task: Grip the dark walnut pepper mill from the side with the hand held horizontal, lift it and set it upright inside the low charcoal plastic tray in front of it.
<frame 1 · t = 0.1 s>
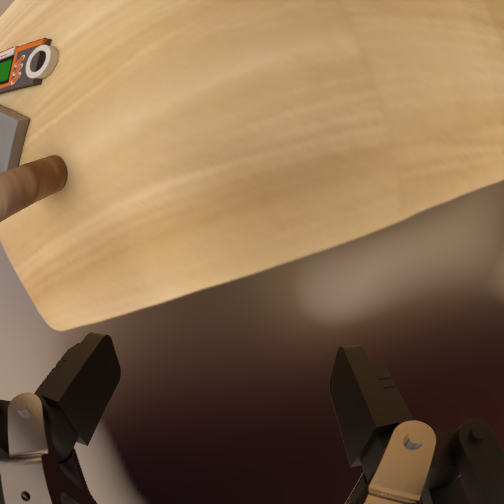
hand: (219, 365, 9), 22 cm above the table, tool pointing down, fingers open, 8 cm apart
electronic device: (25, 68, 20), on the table
pepper mill: (54, 173, 27), on the table
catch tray: (3, 143, 24), on the table
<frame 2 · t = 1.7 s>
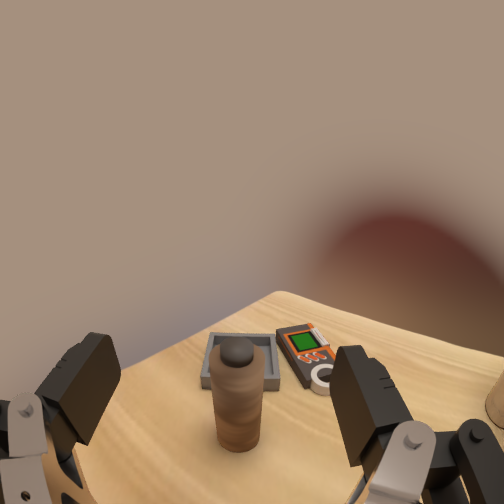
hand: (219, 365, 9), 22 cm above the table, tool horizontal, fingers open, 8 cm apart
electronic device: (309, 365, 39), on the table
pepper mill: (238, 436, 26), on the table
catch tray: (241, 366, 39), on the table
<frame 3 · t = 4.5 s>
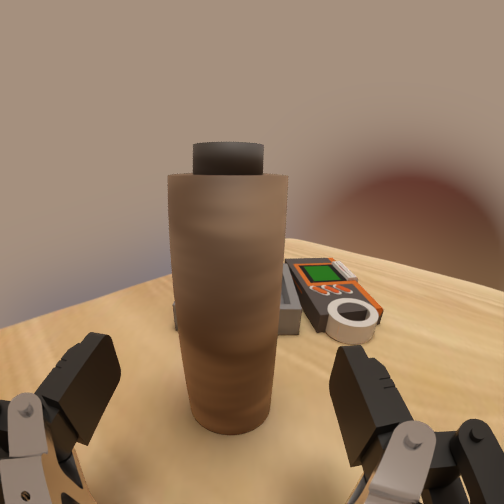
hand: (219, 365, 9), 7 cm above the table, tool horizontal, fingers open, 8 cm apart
electronic device: (328, 307, 28), on the table
pepper mill: (230, 404, 15), on the table
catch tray: (239, 304, 27), on the table
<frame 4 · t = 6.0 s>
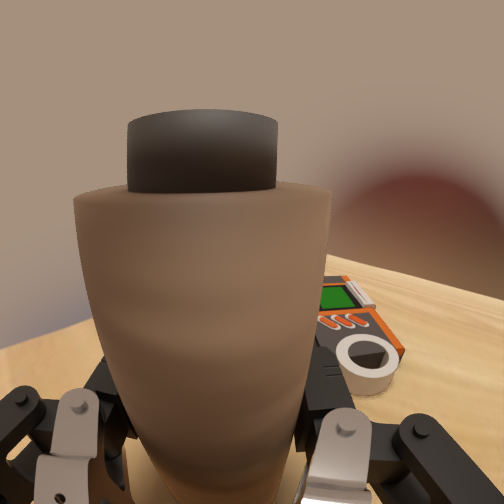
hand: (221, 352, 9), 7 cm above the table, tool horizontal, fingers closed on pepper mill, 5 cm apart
electronic device: (338, 339, 22), on the table
pepper mill: (224, 487, 9), on the table, touching gripper
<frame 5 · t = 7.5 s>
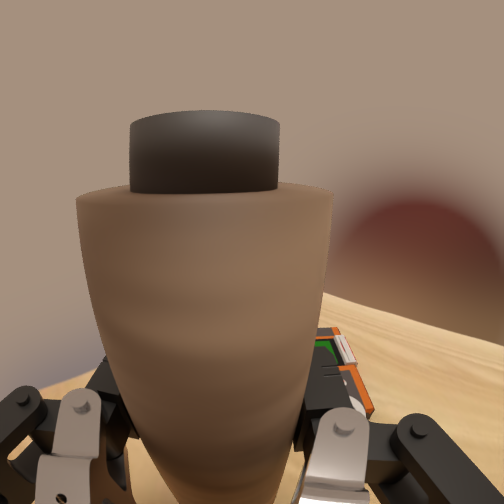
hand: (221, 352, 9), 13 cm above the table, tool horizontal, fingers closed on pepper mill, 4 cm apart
electronic device: (321, 390, 24), on the table
pepper mill: (225, 487, 9), point 6 cm above the table, touching gripper
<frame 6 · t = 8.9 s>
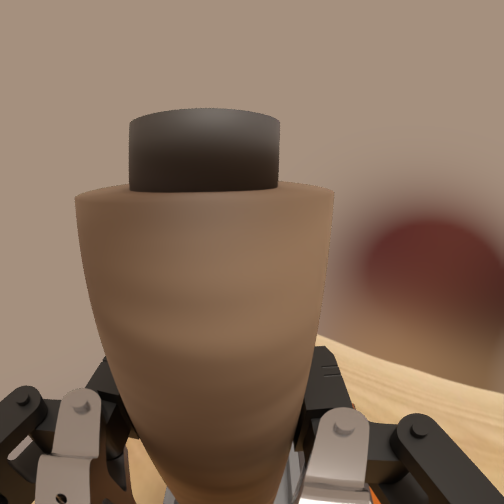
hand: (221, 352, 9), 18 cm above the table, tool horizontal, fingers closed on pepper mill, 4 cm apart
pepper mill: (225, 488, 9), point 11 cm above the table, touching gripper
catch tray: (235, 483, 17), on the table
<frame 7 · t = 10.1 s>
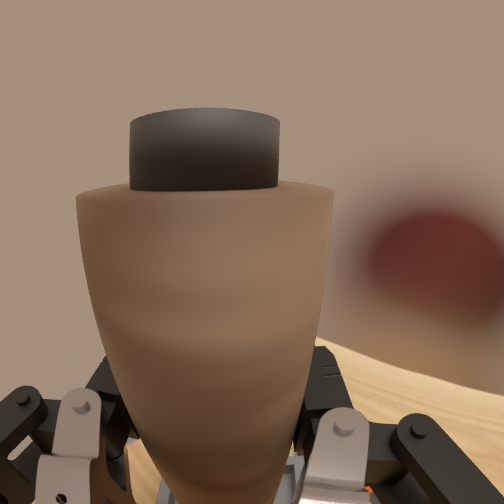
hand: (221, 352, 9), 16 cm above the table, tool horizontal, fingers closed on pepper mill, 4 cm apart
pepper mill: (225, 487, 9), point 9 cm above the table, touching gripper
when the fingers open (8 cm above the table, at t = 12.1 s): pepper mill stays where it is, resting on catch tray.
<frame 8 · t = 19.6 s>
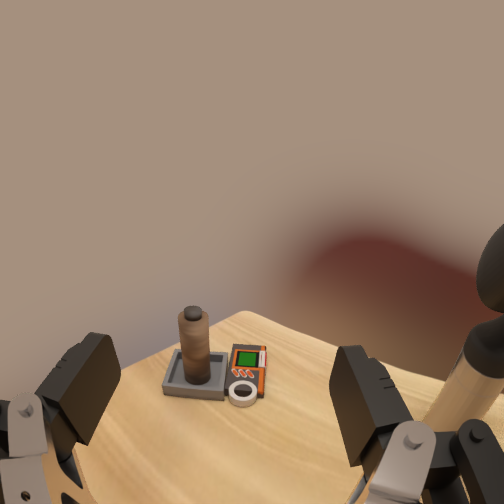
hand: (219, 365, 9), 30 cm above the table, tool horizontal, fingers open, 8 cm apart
electronic device: (246, 379, 47), on the table
pepper mill: (197, 376, 45), point 1 cm above the table, touching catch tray
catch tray: (197, 378, 46), on the table
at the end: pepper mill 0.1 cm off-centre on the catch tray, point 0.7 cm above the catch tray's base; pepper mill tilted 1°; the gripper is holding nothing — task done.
